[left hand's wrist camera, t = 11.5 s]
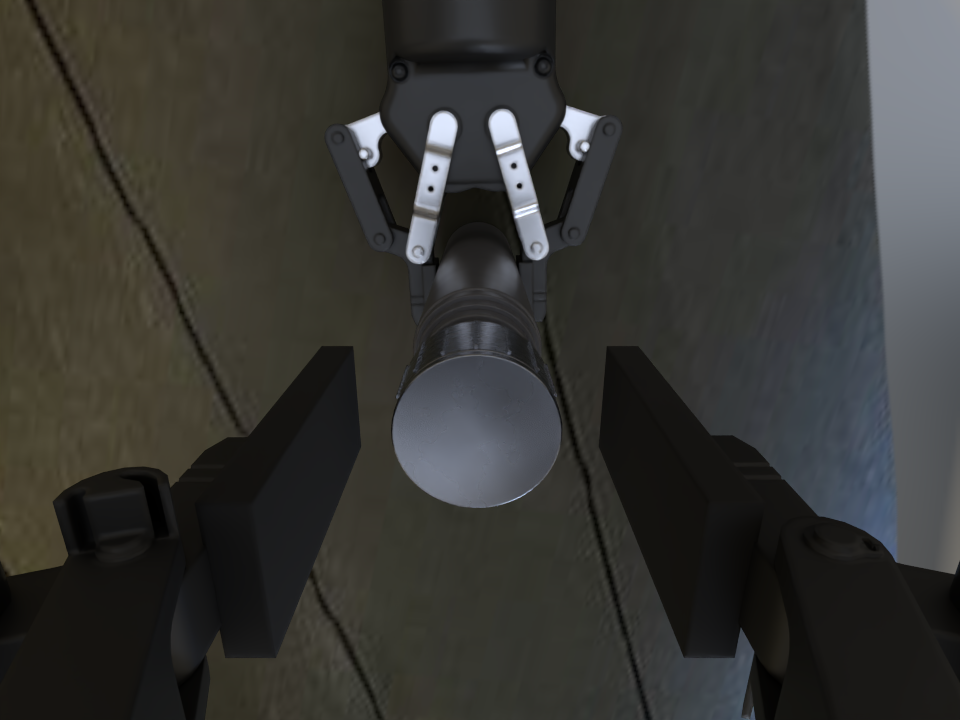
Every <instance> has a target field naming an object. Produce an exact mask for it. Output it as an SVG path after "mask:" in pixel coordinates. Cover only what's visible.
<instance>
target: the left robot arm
mask: <svg viewBox="0 0 960 720" xmlns="http://www.w3.org/2000/svg"><path fill="white" fill-rule="evenodd" d="M360 448H361V439H360V426H359V414H358V401H357V389H356V376H355V364H354V351H353V346H322V347H321V348H320V349H319V350H318V352H317V353H316V354H315V355H314V357H313V358H312V359H311V360H310V361H309V363H308V364H307V365H306V366H305V368H304V369H303V370H302V371H301V373H300V374H299V375H298V376H297V377H296V379H295V380H294V381H293V382H292V384H291V385H290V386H289V387H288V388H287V390H286V391H285V392H284V393H283V395H282V396H281V397H280V398H279V400H278V401H277V402H276V403H275V404H274V406H273V407H272V408H271V409H270V411H269V412H268V413H267V414H266V416H265V417H264V418H263V419H262V420H261V422H260V423H259V424H258V425H257V427H256V428H255V429H254V430H253V432H252V433H251V434H250V435H249V436H248V437H228V438H226V439H224V440H222V441H221V442H219V443H217V444H215V445H214V446H212V447H210V448H208V449H207V450H205V451H204V452H203V453H202V454H201V455H200V456H199V458H198V459H197V460H196V461H195V462H194V463H193V464H192V465H191V469H188V470H187V471H186V472H185V473H184V474H183V475H182V476H181V477H180V478H179V482H176V483H175V484H174V485H173V486H172V487H171V488H170V485H169V480H168V475H166V474H165V473H163V472H162V471H161V470H159V469H155V468H149V467H129V468H121V469H116V470H112V471H107V472H103V473H100V474H97V475H95V476H92V477H89V478H87V479H84V480H82V481H80V482H78V483H76V484H75V485H73V486H71V487H69V488H68V489H66V490H64V491H63V492H62V493H61V494H60V495H59V496H58V497H57V498H56V499H55V500H54V501H53V505H54V508H55V512H56V515H57V518H58V522H59V525H60V528H61V532H62V535H63V538H64V542H65V545H66V548H67V552H68V555H69V556H68V558H67V559H66V561H65V563H64V565H63V566H59V567H55V568H50V569H45V570H40V571H34V572H29V573H24V574H19V575H14V576H9V577H6V576H5V573H4V570H3V567H2V565H1V562H0V720H205V713H206V706H207V699H208V692H209V684H210V673H209V666H208V662H207V657H206V653H207V651H208V649H209V647H210V645H211V644H212V642H213V640H214V638H215V636H216V634H217V633H218V631H219V629H220V633H221V638H222V643H223V648H224V653H225V658H276V656H277V654H278V651H279V649H280V646H281V644H282V641H283V639H284V636H285V634H286V631H287V629H288V626H289V624H290V621H291V619H292V616H293V614H294V612H295V609H296V607H297V604H298V602H299V599H300V597H301V594H302V592H303V589H304V587H305V584H306V582H307V579H308V577H309V574H310V572H311V569H312V567H313V564H314V562H315V559H316V557H317V554H318V552H319V550H320V547H321V545H322V542H323V540H324V537H325V535H326V532H327V530H328V527H329V525H330V522H331V520H332V517H333V515H334V512H335V510H336V507H337V505H338V502H339V500H340V497H341V495H342V493H343V490H344V488H345V485H346V483H347V480H348V478H349V475H350V473H351V470H352V468H353V465H354V463H355V460H356V458H357V455H358V453H359V450H360ZM599 448H600V450H601V453H602V455H603V458H604V460H605V463H606V465H607V468H608V470H609V473H610V475H611V478H612V480H613V483H614V485H615V488H616V490H617V493H618V495H619V497H620V500H621V502H622V505H623V507H624V510H625V512H626V515H627V517H628V520H629V522H630V525H631V527H632V530H633V532H634V535H635V537H636V540H637V542H638V545H639V547H640V550H641V552H642V555H643V557H644V559H645V562H646V564H647V567H648V569H649V572H650V574H651V577H652V579H653V582H654V584H655V587H656V589H657V592H658V594H659V597H660V599H661V602H662V604H663V607H664V609H665V612H666V614H667V616H668V619H669V621H670V624H671V626H672V629H673V631H674V634H675V636H676V639H677V641H678V644H679V646H680V649H681V651H682V654H683V656H684V658H735V653H736V648H737V643H738V638H739V633H740V628H742V630H743V631H744V633H745V635H746V637H747V639H748V641H749V642H750V644H751V646H752V648H753V650H754V657H753V662H752V666H751V671H750V675H749V680H748V685H747V689H746V694H745V699H744V703H743V710H742V718H746V719H750V716H751V712H752V707H753V706H754V712H755V719H756V720H960V562H959V565H958V567H957V570H956V573H955V575H954V574H949V573H944V572H939V571H934V570H929V569H924V568H919V567H914V566H909V565H904V564H900V563H896V562H895V560H894V558H893V556H892V555H891V553H890V552H889V551H888V550H887V549H886V548H885V546H884V545H883V544H882V543H881V542H880V541H878V540H877V539H875V538H874V537H873V536H871V535H870V534H868V533H867V532H865V531H863V530H861V529H859V528H857V527H854V526H852V525H850V524H847V523H845V522H842V521H838V520H834V519H830V518H826V517H818V516H817V514H816V513H815V512H814V511H813V510H812V509H811V508H810V507H809V506H808V505H807V504H806V503H805V501H804V500H803V499H802V498H801V497H800V496H799V495H798V494H797V493H796V492H795V491H794V490H793V489H792V487H791V486H790V485H789V484H788V483H787V482H786V481H785V480H782V479H781V476H780V475H779V473H778V472H777V471H776V470H775V469H774V468H773V467H770V466H769V463H768V462H767V461H766V459H765V458H764V457H763V456H762V455H761V454H760V453H759V452H758V451H757V450H756V449H755V448H754V447H752V446H750V445H748V444H747V443H745V442H743V441H741V440H740V439H738V438H736V437H734V436H711V435H710V434H709V433H708V432H707V430H706V429H705V428H704V427H703V425H702V424H701V423H700V422H699V420H698V419H697V418H696V417H695V416H694V414H693V413H692V412H691V411H690V409H689V408H688V407H687V406H686V404H685V403H684V402H683V401H682V400H681V398H680V397H679V396H678V395H677V393H676V392H675V391H674V390H673V388H672V387H671V386H670V385H669V384H668V382H667V381H666V380H665V379H664V377H663V376H662V375H661V374H660V373H659V371H658V370H657V369H656V368H655V366H654V365H653V364H652V363H651V361H650V360H649V359H648V358H647V357H646V355H645V354H644V353H643V352H642V350H641V349H640V348H639V347H638V346H607V351H606V364H605V376H604V389H603V401H602V414H601V426H600V439H599Z"/></svg>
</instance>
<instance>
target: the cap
mask: <svg viewBox="0 0 960 720" xmlns="http://www.w3.org/2000/svg"><path fill="white" fill-rule="evenodd" d="M555 397H557V393H556V390H555V387H554V384H553V381H552V378H551V375H550V372H549V369H548V366H547V364H545V365H544V362H543V360H542V358H541V357H540V355H539V353H538V352H537V350H536V349H535V348H534V347H533V344H532V342H531V341H529V342H528V341H527V340H526V339H525V338H524V337H523V336H521V335H520V334H518V333H517V332H515V331H513V330H511V329H509V328H508V326H502V325H498V324H494V323H489V322H478V320H475V322H465V323H460V324H456V325H452V326H450V327H448V326H446V327H445V329H443V330H441V331H439V332H437V333H436V334H434V335H433V336H432V337H430V338H429V339H428V340H427V341H426V342H425V343H424V342H422V343H421V345H420V348H419V349H418V351H417V352H416V353H415V355H414V357H413V359H412V360H411V362H410V365H409V366H408V365H407V366H406V369H405V372H404V375H403V378H402V380H401V383H400V386H399V389H398V392H397V395H396V398H397V399H398V401H397V404H396V407H395V410H394V414H393V418H392V425H391V426H392V427H391V434H392V443H393V448H394V451H395V454H396V457H397V460H398V461H399V463H400V465H401V467H402V469H403V470H404V472H405V473H406V474H407V476H408V477H409V478H410V479H411V480H412V481H413V482H414V483H415V484H416V485H417V486H418V487H419V488H420V489H422V490H423V491H424V492H426V493H428V494H429V495H431V496H432V497H434V498H436V499H439V500H441V501H443V502H446V503H449V504H452V505H457V506H461V507H470V508H484V507H492V506H497V505H501V504H505V503H508V502H510V501H513V500H515V499H517V498H519V497H521V496H523V495H525V494H526V493H528V492H529V491H531V490H532V489H533V488H534V487H536V486H537V485H538V484H539V483H540V482H541V481H542V480H543V479H544V478H545V476H546V475H547V474H548V472H549V471H550V469H551V468H552V466H553V464H554V462H555V461H556V459H557V456H558V453H559V450H560V446H561V441H562V421H561V416H560V412H559V408H558V405H557V402H556V398H555Z"/></svg>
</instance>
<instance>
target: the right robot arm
mask: <svg viewBox="0 0 960 720" xmlns="http://www.w3.org/2000/svg"><path fill="white" fill-rule="evenodd" d="M382 4H383V17H384V30H385V43H386V55H387V68H388V82H387V87H386V91H385V94H384V96H383V99H382V101H381V104H380V109H379V112H378V113H376V114H373V115H371V116H368V117H366V118H363V119H361V120H358V121H356V122H353V123H351V124H348V125H342V124H333V125H331V126H329V127H328V128H327V130H326V132H325V142H326V144H327V147H328V149H329V152H330V154H331V156H332V159H333V161H334V163H335V166H336V168H337V171H338V173H339V175H340V178H341V180H342V182H343V185H344V187H345V190H346V192H347V194H348V197H349V199H350V201H351V204H352V206H353V208H354V211H355V213H356V216H357V218H358V220H359V223H360V225H361V227H362V230H363V232H364V235H365V237H366V239H367V242H368V244H369V246H370V247H371V248H372V249H373V250H375V251H378V252H383V251H385V252H388V253H391V254H394V255H397V256H399V257H401V258H402V259H403V260H404V261H405V262H406V264H407V266H408V271H409V285H410V296H411V312H412V317H413V319H414V321H415V323H416V325H418V323H419V320H420V317H421V315H422V312H423V309H424V306H425V303H426V301H427V298H428V295H429V292H430V290H431V287H432V284H433V281H434V278H435V276H436V273H437V270H438V267H439V258H434V245H435V241H436V236H437V232H438V227H439V223H440V218H441V214H442V210H443V206H444V202H445V197H446V193H459V192H462V191H465V190H468V189H471V188H480V189H484V190H488V191H505V192H506V195H507V199H508V202H509V206H510V209H511V212H512V215H513V218H514V222H515V225H516V229H517V232H518V236H519V239H520V255H516V265H517V268H518V271H519V274H520V277H521V280H522V283H523V286H524V288H525V291H526V294H527V297H528V300H529V303H530V306H531V309H532V312H533V315H534V318H535V321H536V322H542V321H543V319H544V316H545V314H546V283H547V261H548V259H549V257H550V256H551V254H553V253H554V252H555V251H557V250H560V249H562V248H565V247H567V246H577V245H579V244H581V243H582V242H583V241H584V240H585V238H586V235H587V232H588V229H589V227H590V224H591V221H592V218H593V215H594V212H595V209H596V206H597V203H598V201H599V198H600V195H601V192H602V189H603V186H604V183H605V180H606V177H607V175H608V172H609V169H610V166H611V163H612V160H613V157H614V154H615V151H616V148H617V146H618V143H619V140H620V137H621V134H622V129H623V128H622V123H621V121H620V120H619V118H617V117H616V116H613V115H605V116H597V115H594V114H591V113H588V112H585V111H582V110H579V109H575V108H572V107H569V106H566V100H565V97H564V95H563V93H562V91H561V89H560V87H559V84H558V81H557V77H556V71H555V37H556V0H382ZM559 128H561V129H562V130H563V131H564V132H565V134H566V136H567V146H566V149H567V153H568V155H569V156H570V157H571V158H572V159H574V160H576V163H575V166H574V169H573V172H572V175H571V178H570V181H569V184H568V187H567V191H566V194H565V197H564V200H563V203H562V206H561V209H560V212H559V215H558V218H557V220H554V221H552V222H549V223H547V224H544V225H543V222H542V218H541V214H540V210H539V205H538V201H537V197H536V193H535V190H534V186H533V182H532V179H531V175H530V171H531V169H532V168H533V166H534V165H535V163H536V162H537V160H538V159H539V157H540V156H541V154H542V153H543V151H544V150H545V148H546V147H547V145H548V144H549V142H550V141H551V139H552V138H553V136H554V135H555V133H556V132H557V130H558V129H559ZM387 134H388V135H389V136H390V137H391V138H392V140H393V141H394V142H395V144H396V145H397V146H398V147H399V149H400V150H401V151H402V153H403V154H404V155H405V157H406V158H407V159H408V160H409V162H410V163H411V164H412V166H413V167H414V168H415V169H416V171H417V172H418V173H419V175H420V177H419V182H418V187H417V192H416V197H415V202H414V207H413V216H412V221H411V226H410V229H408V228H405V227H402V226H399V225H397V224H396V222H395V219H394V217H393V214H392V212H391V209H390V207H389V204H388V202H387V199H386V197H385V194H384V192H383V189H382V187H381V184H380V182H379V179H378V177H377V174H376V172H375V169H374V167H375V166H377V165H378V164H379V163H380V162H381V160H382V149H381V142H382V140H383V138H384V137H385V135H387Z"/></svg>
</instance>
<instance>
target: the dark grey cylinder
mask: <svg viewBox="0 0 960 720" xmlns="http://www.w3.org/2000/svg"><path fill="white" fill-rule="evenodd" d="M475 320H478V322H489V323H494V324H498V325H502V326H508V328H509V329H511V330H513V331H515V332H517V333H518V334H520V335H521V336H523V337H524V338H525V339H526V340H527V341H528V342H529V341H531V342H532V344H533V347H534V348H535V349H536V350H537V352H538V353H539V355H540V357H541V337H540V333H539V329H538V326H537V323H536V321H535V318H534V315H533V312H532V309H531V306H530V303H529V300H528V297H527V294H526V291H525V288H524V286H523V283H522V280H521V277H520V274H519V271H518V268H517V265H516V262H515V259H514V256H513V254H512V251H511V248H510V245H509V242H508V240H507V238H506V237H505V235H504V234H503V233H502V232H501V231H500V230H499V229H498V228H496V227H495V226H493V225H490V224H488V223H484V222H473V223H468V224H465V225H463V226H461V227H460V228H458V229H457V230H456V231H455V232H454V233H453V234H452V235H451V237H450V238H449V240H448V242H447V245H446V248H445V250H444V253H443V256H442V259H441V262H440V264H439V267H438V270H437V273H436V276H435V278H434V281H433V284H432V287H431V290H430V292H429V295H428V298H427V301H426V303H425V306H424V309H423V312H422V315H421V317H420V320H419V323H418V326H417V329H416V332H415V336H414V343H413V352H414V353H413V354H414V355H415V353H416V352H417V351H418V349H419V348H420V345H421V343H422V342H424V343H425V342H426V341H427V340H428V339H429V338H430V337H432V336H433V335H434V334H436V333H437V332H439V331H441V330H443V329H445V327H446V326H448V327H450V326H452V325H456V324H460V323H465V322H475Z"/></svg>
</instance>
